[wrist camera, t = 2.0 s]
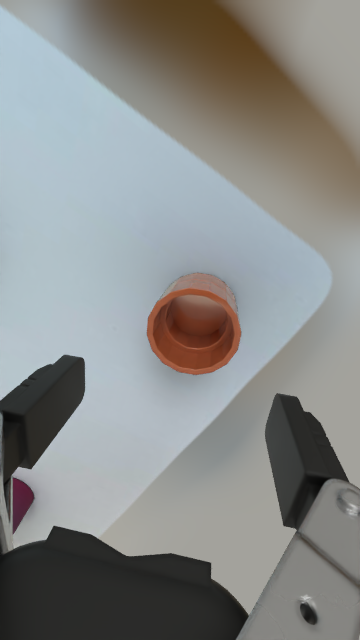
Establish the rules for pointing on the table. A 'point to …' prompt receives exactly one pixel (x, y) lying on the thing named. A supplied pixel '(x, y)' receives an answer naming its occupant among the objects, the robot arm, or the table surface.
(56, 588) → the robot arm
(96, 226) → the table surface
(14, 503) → the cup
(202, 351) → the flower pot
